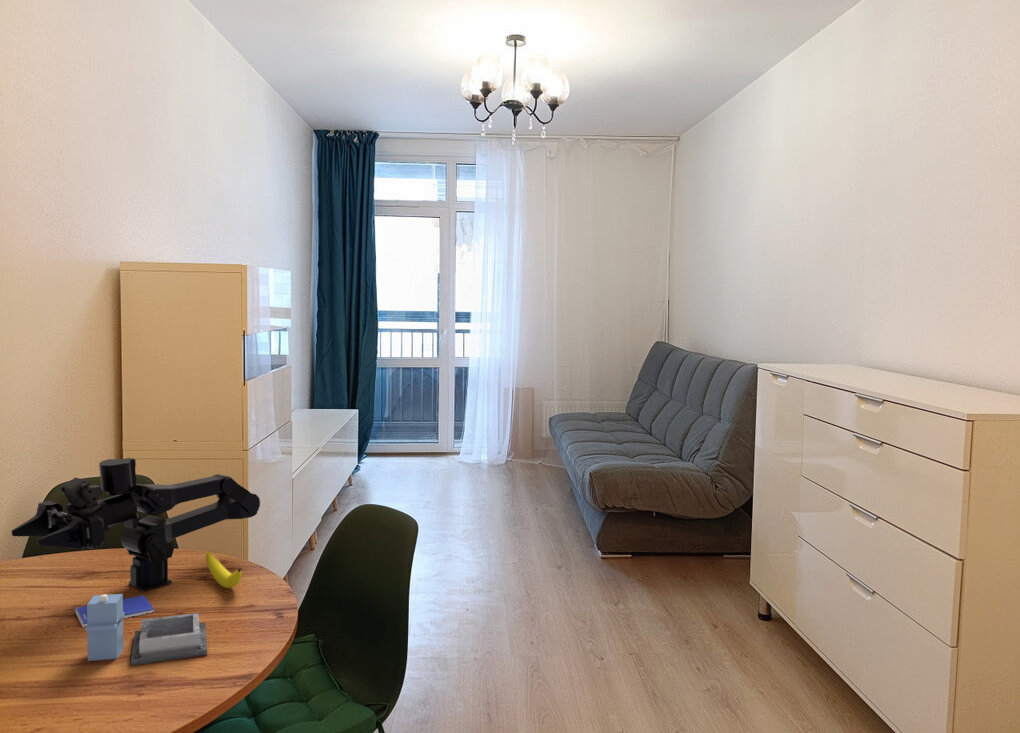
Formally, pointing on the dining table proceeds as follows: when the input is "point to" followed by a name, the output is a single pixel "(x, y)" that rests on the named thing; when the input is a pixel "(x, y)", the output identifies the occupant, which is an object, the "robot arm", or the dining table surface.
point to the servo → (105, 627)
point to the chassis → (169, 639)
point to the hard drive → (130, 608)
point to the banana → (222, 572)
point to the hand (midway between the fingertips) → (24, 538)
